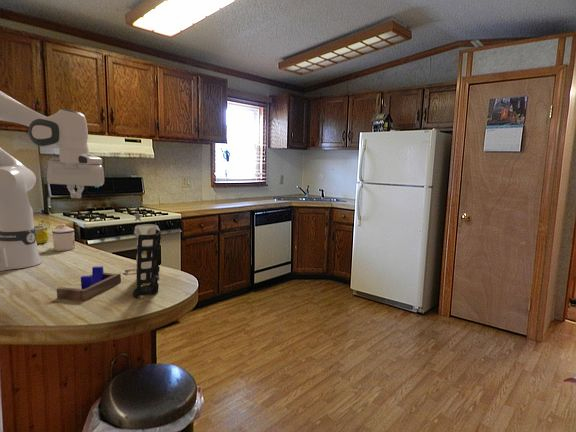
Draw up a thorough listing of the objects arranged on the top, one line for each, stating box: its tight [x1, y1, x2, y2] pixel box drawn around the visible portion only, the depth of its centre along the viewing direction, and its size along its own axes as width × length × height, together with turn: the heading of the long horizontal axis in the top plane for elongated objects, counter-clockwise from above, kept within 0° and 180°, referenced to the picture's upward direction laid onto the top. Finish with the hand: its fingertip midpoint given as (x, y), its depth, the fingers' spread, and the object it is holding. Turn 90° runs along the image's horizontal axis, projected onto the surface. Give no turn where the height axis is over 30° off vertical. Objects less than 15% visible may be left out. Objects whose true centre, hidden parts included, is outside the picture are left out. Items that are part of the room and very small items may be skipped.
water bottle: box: [133, 211, 161, 282], centre depth 135 cm, size 8×9×25 cm
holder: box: [132, 229, 162, 299], centre depth 122 cm, size 11×8×20 cm
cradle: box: [56, 272, 122, 302], centre depth 125 cm, size 10×18×3 cm, turn 170°
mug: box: [34, 219, 51, 245], centre depth 190 cm, size 13×11×12 cm
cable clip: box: [80, 265, 105, 289], centre depth 126 cm, size 12×4×6 cm, turn 9°
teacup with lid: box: [51, 223, 76, 252], centre depth 180 cm, size 12×9×12 cm
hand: (76, 198), depth 134 cm, fingers closed
